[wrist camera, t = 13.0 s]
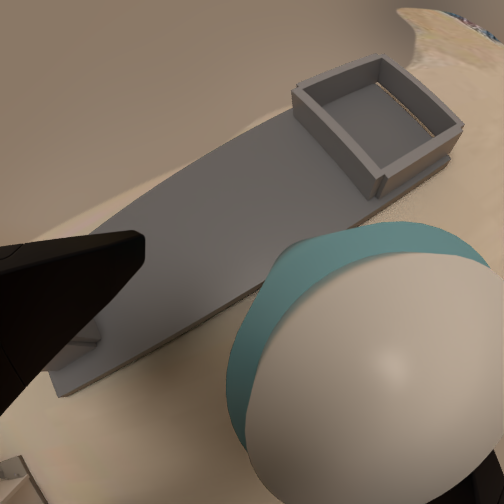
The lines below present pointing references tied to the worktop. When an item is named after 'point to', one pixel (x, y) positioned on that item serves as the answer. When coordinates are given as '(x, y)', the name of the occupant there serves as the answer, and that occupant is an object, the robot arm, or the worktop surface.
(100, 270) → the robot arm
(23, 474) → the skyscraper
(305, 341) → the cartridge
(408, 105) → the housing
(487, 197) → the worktop surface
